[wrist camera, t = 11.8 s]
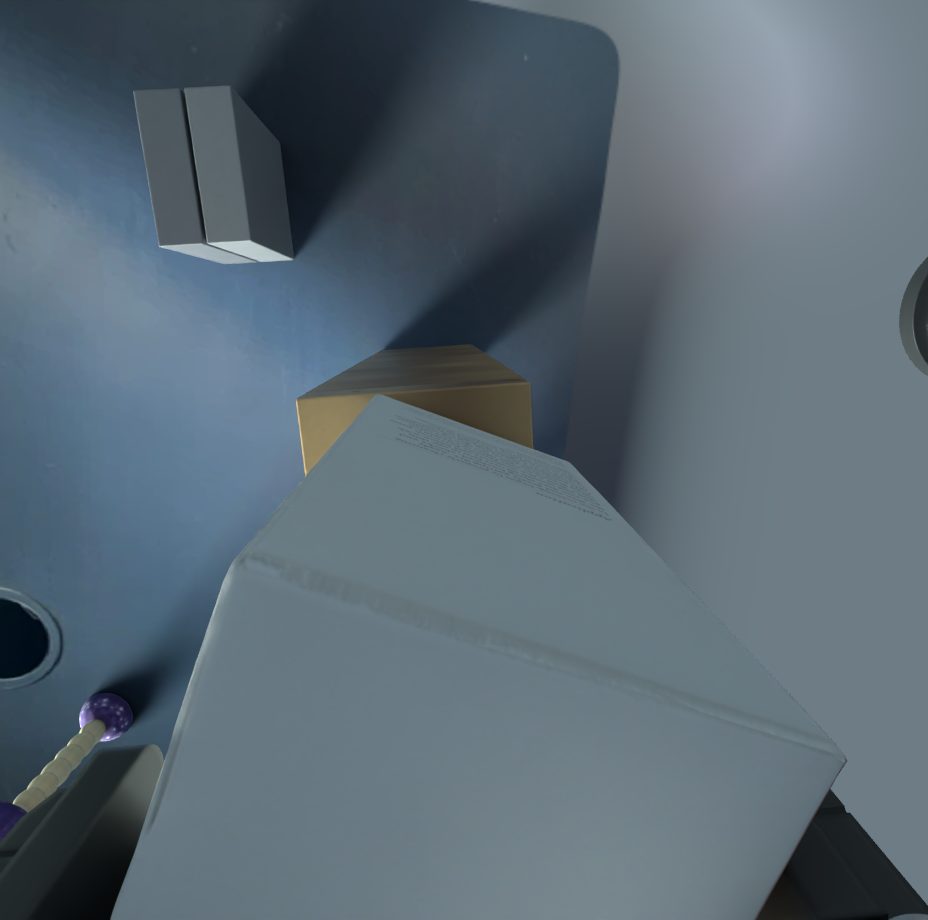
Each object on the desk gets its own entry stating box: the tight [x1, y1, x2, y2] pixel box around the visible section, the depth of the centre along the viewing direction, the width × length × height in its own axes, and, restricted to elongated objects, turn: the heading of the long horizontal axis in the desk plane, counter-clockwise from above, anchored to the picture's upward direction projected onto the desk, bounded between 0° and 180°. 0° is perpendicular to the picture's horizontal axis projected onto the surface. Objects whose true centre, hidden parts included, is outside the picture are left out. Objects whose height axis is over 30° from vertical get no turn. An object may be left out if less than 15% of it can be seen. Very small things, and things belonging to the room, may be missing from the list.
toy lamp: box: [0, 693, 133, 842], centre depth 45 cm, size 5×5×17 cm
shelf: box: [296, 378, 533, 476], centre depth 16 cm, size 7×15×12 cm, turn 4°
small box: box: [110, 394, 847, 920], centre depth 13 cm, size 8×6×13 cm
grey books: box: [133, 86, 294, 264], centre depth 39 cm, size 5×8×11 cm, turn 4°
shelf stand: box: [307, 344, 523, 393], centre depth 35 cm, size 7×15×28 cm, turn 4°
